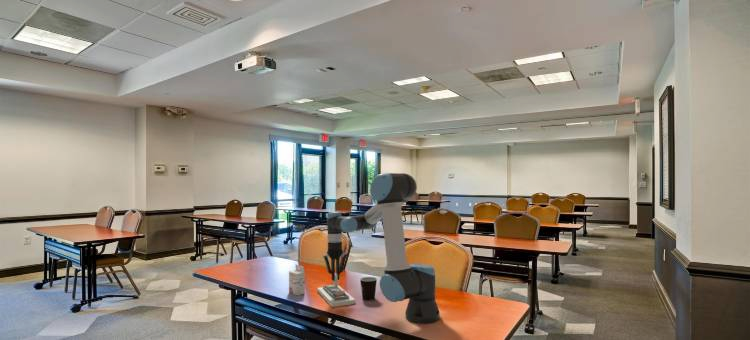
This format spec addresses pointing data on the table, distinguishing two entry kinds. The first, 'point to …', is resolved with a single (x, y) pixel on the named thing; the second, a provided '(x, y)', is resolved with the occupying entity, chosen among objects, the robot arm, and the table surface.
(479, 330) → the table surface
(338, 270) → the robot arm
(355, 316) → the table surface
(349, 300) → the button panel
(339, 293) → the clay button
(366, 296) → the coffee mug
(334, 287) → the sage button
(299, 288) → the ink cartridge box
